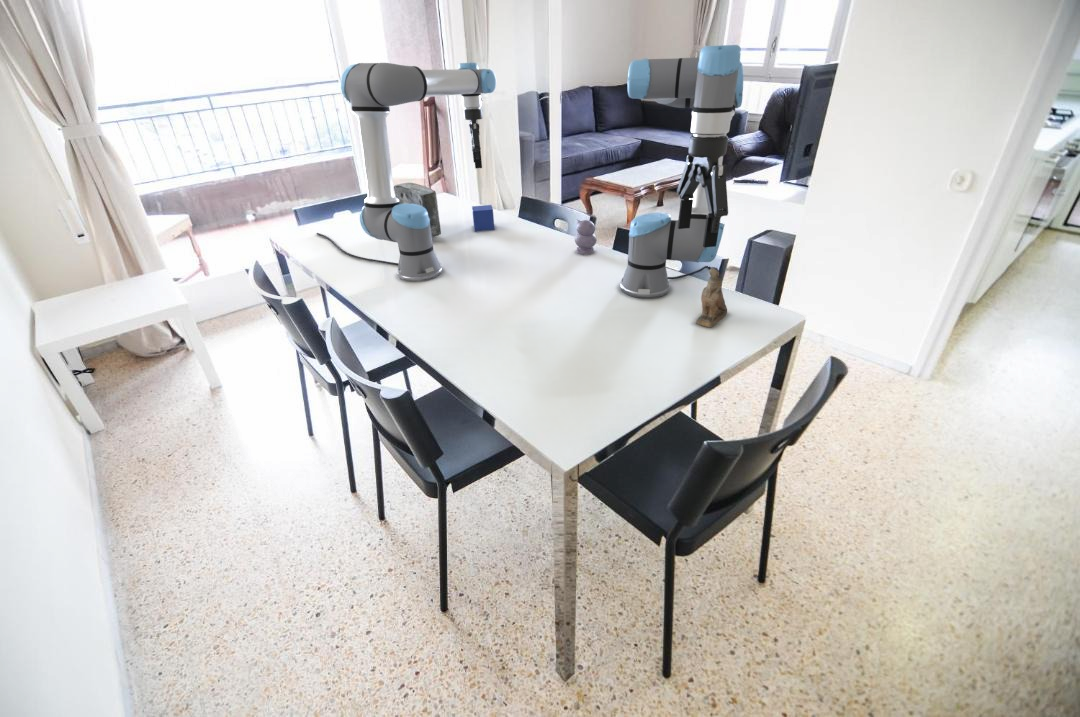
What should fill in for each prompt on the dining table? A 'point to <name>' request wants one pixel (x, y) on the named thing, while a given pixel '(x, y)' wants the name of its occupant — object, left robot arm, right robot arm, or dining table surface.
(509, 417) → the dining table surface
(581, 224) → the grey owl figurine
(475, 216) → the block
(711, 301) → the worn brown figurine
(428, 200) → the concrete block
